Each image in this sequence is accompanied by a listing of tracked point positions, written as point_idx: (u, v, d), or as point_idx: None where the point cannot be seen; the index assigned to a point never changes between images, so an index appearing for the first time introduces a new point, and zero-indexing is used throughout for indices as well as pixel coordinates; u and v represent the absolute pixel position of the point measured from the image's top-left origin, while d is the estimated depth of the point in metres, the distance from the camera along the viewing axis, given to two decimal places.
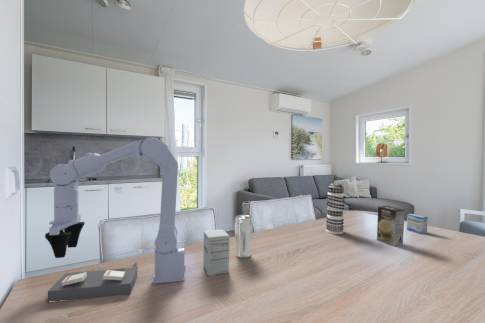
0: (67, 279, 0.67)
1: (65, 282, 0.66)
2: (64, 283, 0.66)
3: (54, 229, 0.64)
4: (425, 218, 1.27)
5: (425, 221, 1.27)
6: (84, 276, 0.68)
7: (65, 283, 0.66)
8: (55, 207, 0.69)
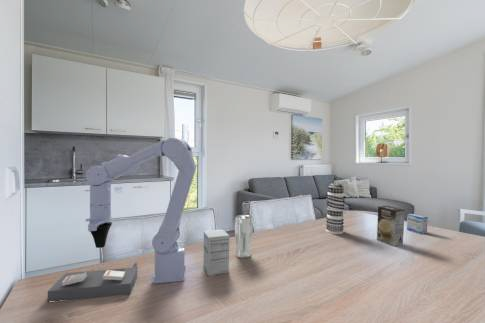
0: (67, 279, 0.67)
1: (65, 282, 0.66)
2: (64, 283, 0.66)
3: (92, 225, 0.70)
4: (425, 218, 1.27)
5: (425, 221, 1.27)
6: (84, 276, 0.68)
7: (65, 283, 0.66)
8: (91, 205, 0.75)
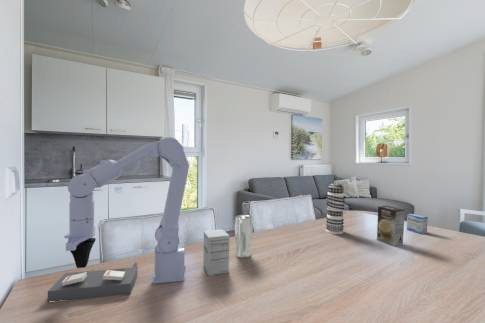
0: (67, 279, 0.67)
1: (65, 282, 0.66)
2: (64, 283, 0.66)
3: (71, 244, 0.61)
4: (425, 218, 1.27)
5: (425, 221, 1.27)
6: (84, 276, 0.68)
7: (65, 283, 0.66)
8: (71, 220, 0.65)
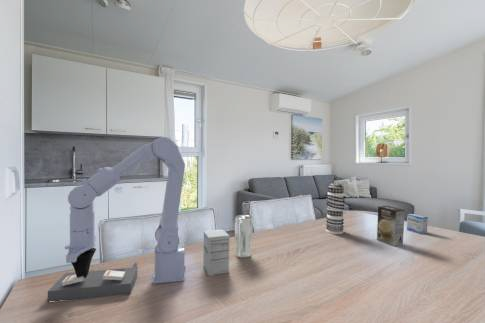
0: (67, 279, 0.67)
1: (65, 282, 0.66)
2: (64, 283, 0.66)
3: (71, 256, 0.61)
4: (425, 218, 1.27)
5: (425, 221, 1.27)
6: None
7: (65, 283, 0.66)
8: (71, 231, 0.65)
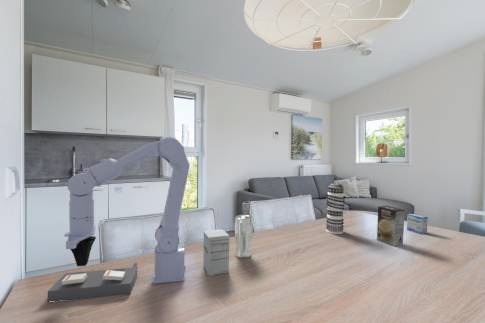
0: (67, 278, 0.67)
1: (65, 281, 0.66)
2: (64, 282, 0.66)
3: (71, 243, 0.61)
4: (425, 218, 1.27)
5: (425, 221, 1.27)
6: (84, 277, 0.68)
7: (65, 282, 0.66)
8: (71, 219, 0.65)
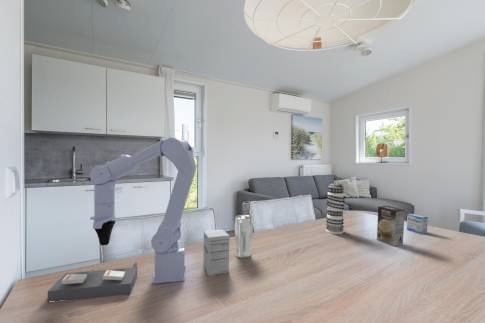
0: (67, 278, 0.67)
1: (65, 281, 0.66)
2: (64, 282, 0.66)
3: (97, 223, 0.72)
4: (425, 218, 1.27)
5: (425, 221, 1.27)
6: (84, 278, 0.68)
7: (65, 282, 0.66)
8: (96, 204, 0.77)
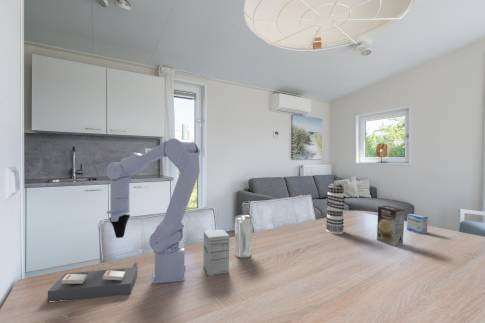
0: (68, 277, 0.67)
1: (65, 280, 0.66)
2: (64, 281, 0.66)
3: (114, 216, 0.77)
4: (425, 218, 1.27)
5: (425, 221, 1.27)
6: (84, 279, 0.68)
7: (65, 281, 0.66)
8: (112, 198, 0.81)
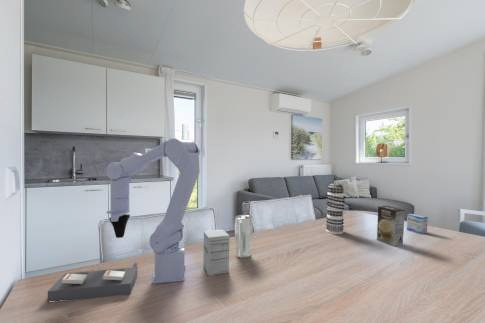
0: (68, 277, 0.67)
1: (65, 280, 0.66)
2: (64, 281, 0.66)
3: (114, 216, 0.77)
4: (425, 218, 1.27)
5: (425, 221, 1.27)
6: (84, 279, 0.68)
7: (65, 281, 0.66)
8: (112, 198, 0.81)
